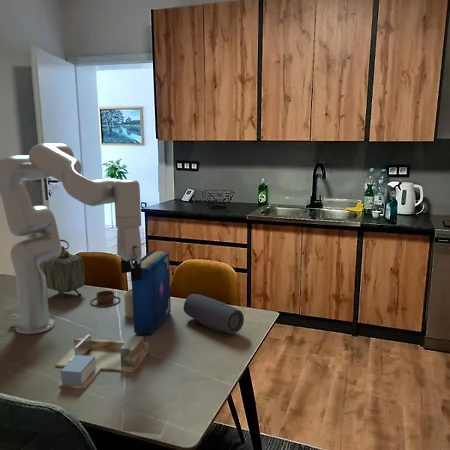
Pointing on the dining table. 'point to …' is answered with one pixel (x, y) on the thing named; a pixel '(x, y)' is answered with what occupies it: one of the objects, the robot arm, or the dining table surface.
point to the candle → (128, 304)
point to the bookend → (83, 347)
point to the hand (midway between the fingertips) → (131, 276)
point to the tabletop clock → (65, 272)
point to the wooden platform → (110, 356)
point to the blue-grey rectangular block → (78, 370)
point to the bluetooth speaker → (214, 313)
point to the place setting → (105, 298)
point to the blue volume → (151, 293)
